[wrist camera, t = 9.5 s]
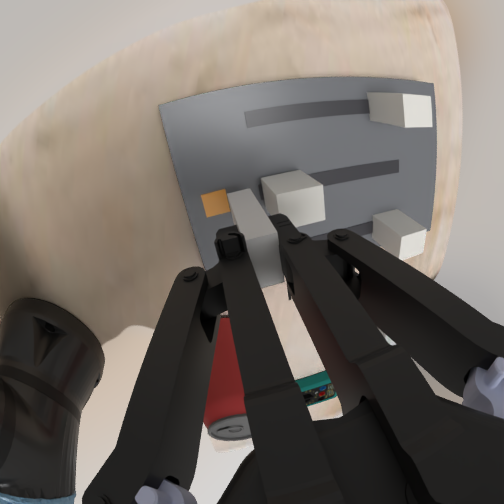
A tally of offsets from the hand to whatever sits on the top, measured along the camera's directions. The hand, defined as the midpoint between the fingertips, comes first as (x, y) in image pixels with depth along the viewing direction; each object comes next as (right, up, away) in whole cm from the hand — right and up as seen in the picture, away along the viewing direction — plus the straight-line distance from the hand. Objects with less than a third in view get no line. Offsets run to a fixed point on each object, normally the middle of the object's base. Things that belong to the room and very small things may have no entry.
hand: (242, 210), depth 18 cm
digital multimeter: (+8, -25, +23) cm, 34 cm away
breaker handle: (+3, +2, +2) cm, 4 cm away
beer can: (-3, -12, +12) cm, 17 cm away
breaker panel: (+7, +5, +5) cm, 10 cm away
